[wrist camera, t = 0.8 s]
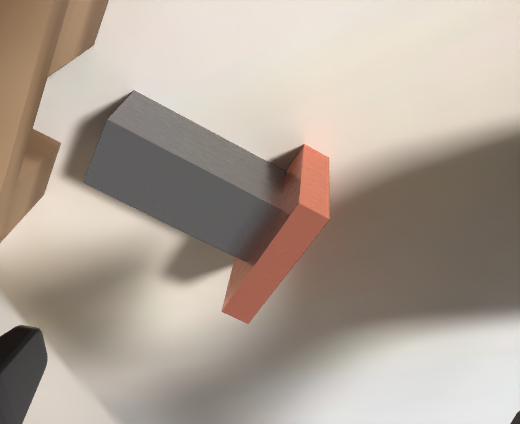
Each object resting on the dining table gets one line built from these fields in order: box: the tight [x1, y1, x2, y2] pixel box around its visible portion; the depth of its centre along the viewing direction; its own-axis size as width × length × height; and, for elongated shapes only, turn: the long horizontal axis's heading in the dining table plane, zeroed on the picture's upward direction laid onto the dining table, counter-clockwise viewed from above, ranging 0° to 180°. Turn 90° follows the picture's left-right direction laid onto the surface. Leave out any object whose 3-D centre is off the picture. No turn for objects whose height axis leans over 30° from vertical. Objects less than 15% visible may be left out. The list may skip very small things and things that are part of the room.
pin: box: [83, 90, 330, 324], centre depth 20 cm, size 8×6×5 cm
